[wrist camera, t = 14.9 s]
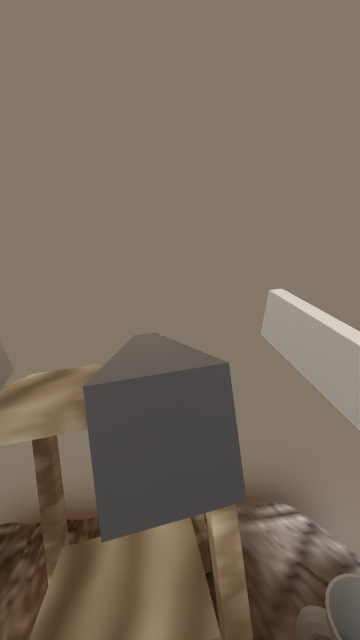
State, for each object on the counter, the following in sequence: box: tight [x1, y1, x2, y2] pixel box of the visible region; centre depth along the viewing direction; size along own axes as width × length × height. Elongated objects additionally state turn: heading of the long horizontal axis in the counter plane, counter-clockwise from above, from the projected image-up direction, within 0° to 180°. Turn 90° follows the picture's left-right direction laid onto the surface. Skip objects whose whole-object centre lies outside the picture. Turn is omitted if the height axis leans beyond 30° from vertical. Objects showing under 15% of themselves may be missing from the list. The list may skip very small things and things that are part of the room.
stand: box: [0, 363, 253, 640], centre depth 22 cm, size 20×16×30 cm
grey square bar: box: [83, 333, 246, 543], centre depth 17 cm, size 3×26×3 cm, turn 10°
